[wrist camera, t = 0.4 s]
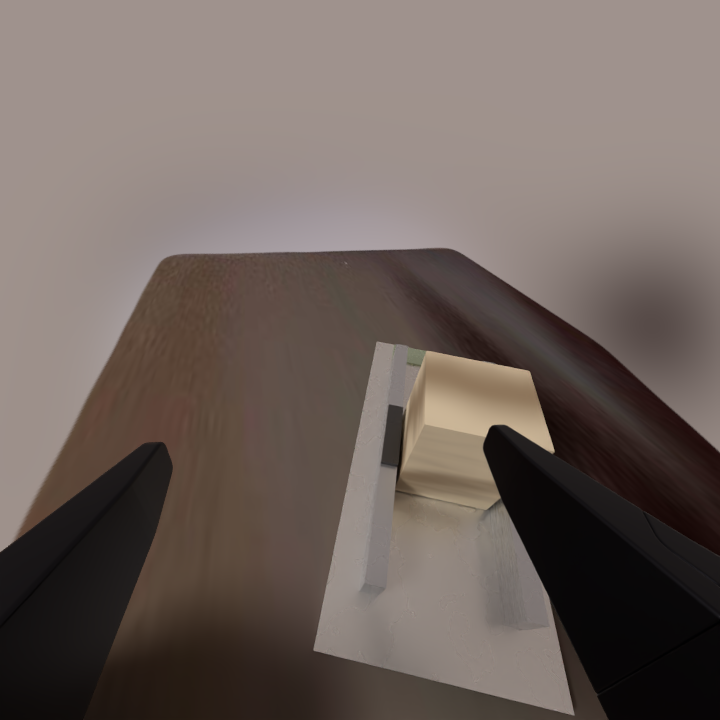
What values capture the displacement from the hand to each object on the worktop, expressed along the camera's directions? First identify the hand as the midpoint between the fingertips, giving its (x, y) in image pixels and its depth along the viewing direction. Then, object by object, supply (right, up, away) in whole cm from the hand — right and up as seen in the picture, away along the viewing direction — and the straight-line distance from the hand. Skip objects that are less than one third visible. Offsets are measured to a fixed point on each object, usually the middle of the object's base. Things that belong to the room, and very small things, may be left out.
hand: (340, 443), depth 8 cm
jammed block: (+7, -6, +16) cm, 19 cm away
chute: (+7, -6, +17) cm, 20 cm away
